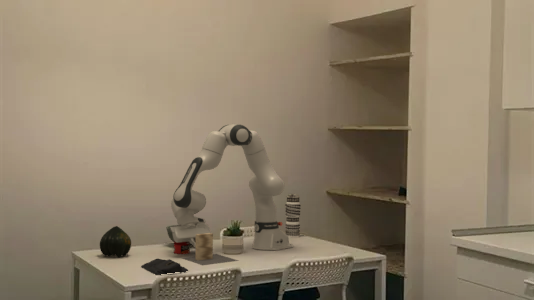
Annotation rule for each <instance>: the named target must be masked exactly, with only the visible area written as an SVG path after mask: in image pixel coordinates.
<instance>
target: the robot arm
mask: <svg viewBox="0 0 534 300" xmlns="http://www.w3.org/2000/svg"><path fill="white" fill-rule="evenodd" d="M228 146H231V147H236V146H240V147H241V148H242V150H243V153H244V156H245V160H246V163H247V164H248V168H249V170H251V172H252V173H253V174H254V175H252V176H251V177H250V179H249V180H248V187H249V189H250V190H251V193H252V195H253V200H254V206H255V220H254V238H253V243H252V246H251V248H252V249H255V250H261V251H262V250H264V251H279V250H284V249H290V248H294V244H292V243H290V237H288V236H287V234H285V233H286V232H284V231H283V230H282V229H281V228H279V227H282V226H283V225H284V224H283V222H282V221H277V205H276V204H275V200H274V198H273V197H276V196H279V195H282V193H283V191H284V190H285V183H284V180H283V178H281V177H280V176H279V174H278V173H277V172H276V170H275V168H274V166H273V165H272V163H271V161H270V159H269V156H268V154H267V151H266V147H265V145H264V143H263V140H262V138H261V136H260V134H259V133H258V132H257V131H256V130H251V129H250V130H249V128H248V127H246V126H245V125H243V124H239V123H238V124H236V123H232V124H225V125H223V126H221V128H220V129H219V130H213V131H210V132H209V133H208V135H207V137H206V138H205V140H204V142H203V144H202V147H201V149H200V152H199V154H198V155H197V156H196V157H195V158H193V160H192V161H191V163H190V164H189V166H188V168H187V170H186V172H185V174H184V176H183V178H182V180H181V182H180V184H179V185H178V187H177V188H176V189H175V191H174V193H173V196H172V197H173V199H172V200H171V203H170V204H171V206H170V207H171V210H172V213H173V215H174V217H175V219H176V222H177V224H176V225H175V224H174V225H173V226H172V225H170V226H171V228H170V230H171V232H172V235H173V239H174V241H175V242H176V243H178V242H188V241H189V242H190V243H191V244H192V245H193V246H192V247H193V248H195V249H196V243H195V242H194V241H196V234H205V233H212V234H213V232H212V230H211V228H210V226H209V224H207V223H206V222H207V221H206V219H205V218H202V217H199V216H198V217H197V216H195V215H196V214H198V213H200V212H201V211H202V210H203V209H204V208H205V207H206V204H207V198H206V196H205V194H204V193H201V192H199V191H196V190H193V186H194V185H195V183H196V181H197V179H198V176H199V175H200V174H201V173H202V172H204V171H210V170H214V169H216V168H217V167H218V166H220V163H221V161H222V158H223V155H224V151H225V149H227V147H228Z"/></svg>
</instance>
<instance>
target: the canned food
mask: <svg viewBox="0 0 534 300" xmlns="http://www.w3.org/2000/svg"><path fill="white" fill-rule="evenodd" d="M173 253H174V254H176V255H187V254H190V246H189V241H188V242H178V243H176V242H175V241H174V242H173Z"/></svg>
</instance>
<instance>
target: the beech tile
mask: <svg viewBox="0 0 534 300" xmlns="http://www.w3.org/2000/svg"><path fill="white" fill-rule="evenodd" d="M213 236H214V233H213V232H212V233H205V234H196V248H195V253H194V254H195V260H205V259H213V254H214V253H213V250H214V249H213V247H214V246H213V245H214V244H213V243H214V237H213Z"/></svg>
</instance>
